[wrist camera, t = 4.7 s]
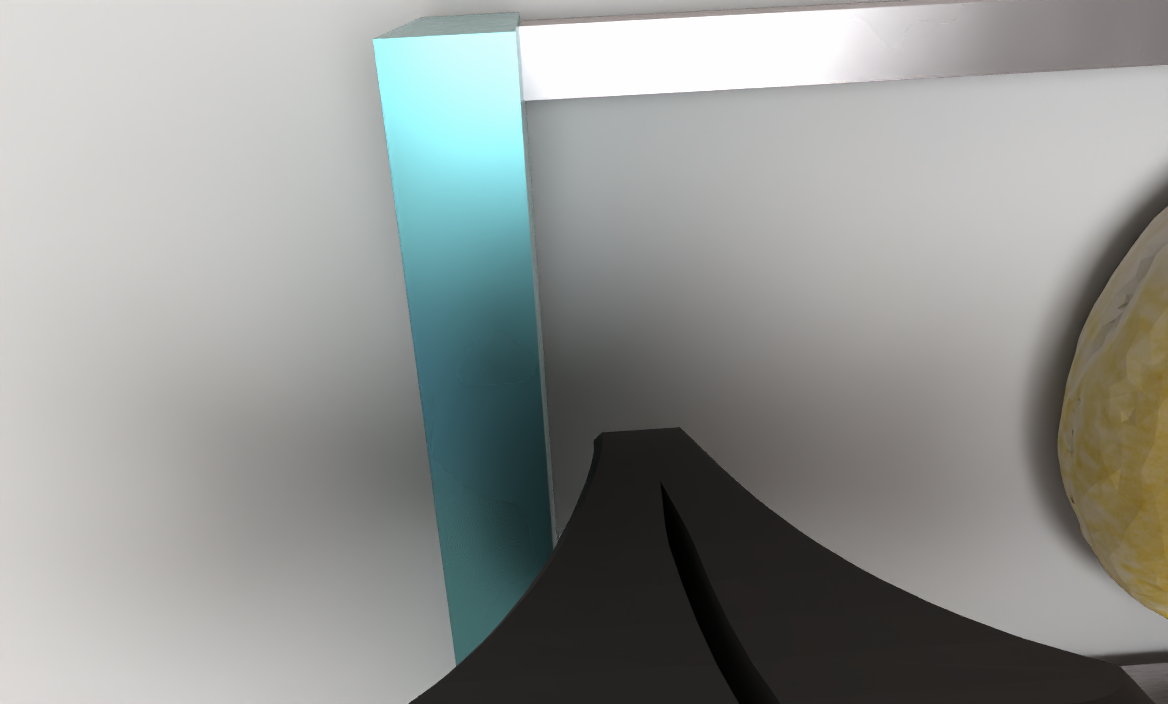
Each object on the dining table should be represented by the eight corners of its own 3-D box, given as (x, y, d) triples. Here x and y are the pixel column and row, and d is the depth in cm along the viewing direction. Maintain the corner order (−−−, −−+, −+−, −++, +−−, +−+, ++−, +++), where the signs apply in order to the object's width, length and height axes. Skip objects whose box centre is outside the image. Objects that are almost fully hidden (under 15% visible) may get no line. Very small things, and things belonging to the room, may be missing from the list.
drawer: (1528, 671, 16) (1789, 854, 13) (503, 754, 16) (497, 969, 12) (1879, -61, 12) (2440, -73, 8) (421, 17, 11) (372, 39, 8)
